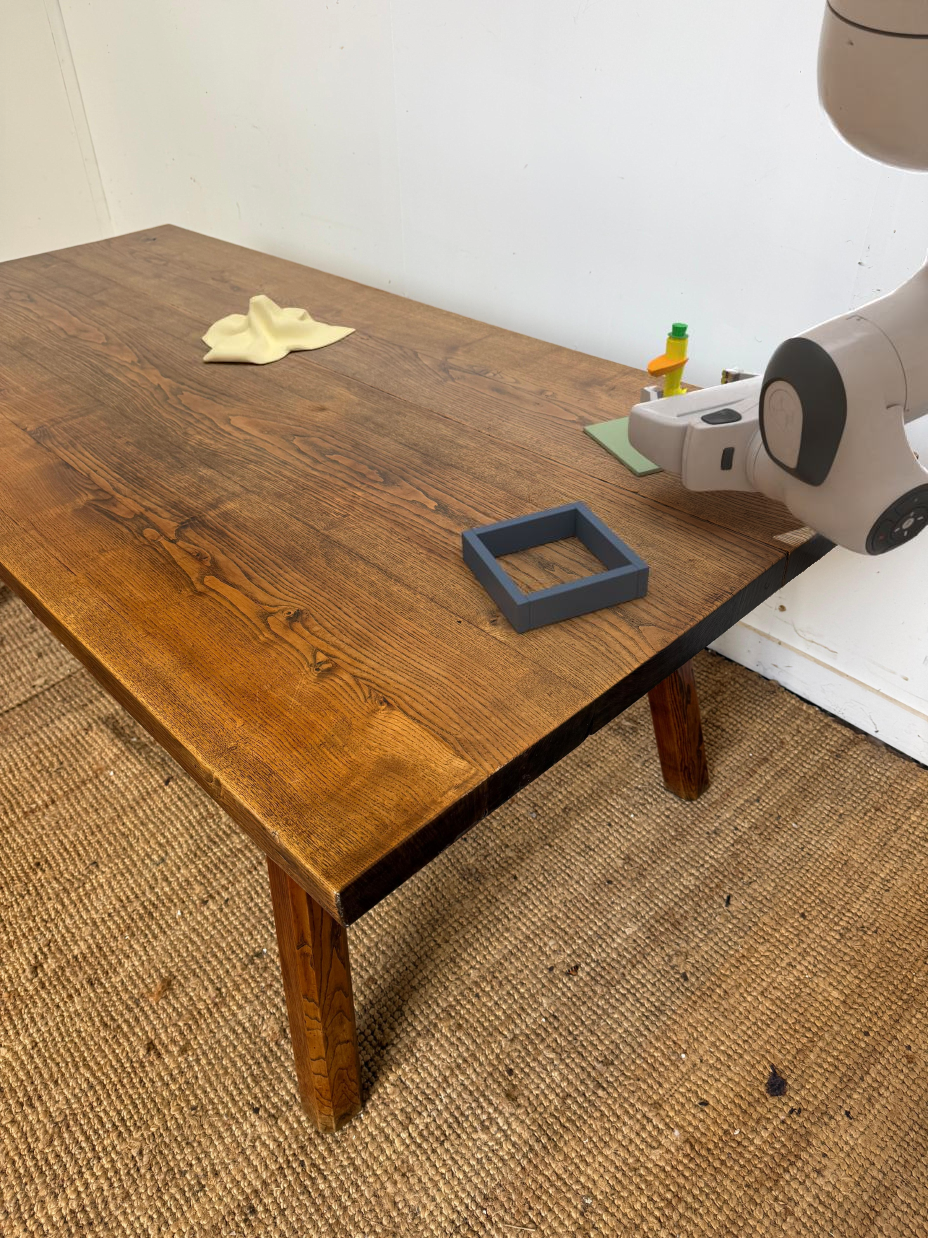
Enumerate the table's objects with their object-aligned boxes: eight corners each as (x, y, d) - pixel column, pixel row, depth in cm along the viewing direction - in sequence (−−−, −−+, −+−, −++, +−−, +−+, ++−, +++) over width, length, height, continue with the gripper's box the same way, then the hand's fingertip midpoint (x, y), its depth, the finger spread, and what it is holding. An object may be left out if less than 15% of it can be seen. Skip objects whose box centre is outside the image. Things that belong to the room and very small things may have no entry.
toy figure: (655, 450, 94) (666, 339, 87) (630, 439, 96) (638, 330, 89) (695, 429, 97) (708, 321, 90) (669, 419, 99) (680, 313, 92)
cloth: (211, 375, 118) (200, 330, 114) (187, 332, 131) (177, 290, 127) (368, 343, 124) (363, 299, 120) (330, 305, 138) (324, 265, 134)
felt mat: (674, 409, 103) (674, 405, 102) (736, 451, 94) (737, 447, 94) (583, 430, 99) (583, 426, 99) (638, 476, 91) (638, 472, 90)
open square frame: (579, 527, 83) (580, 500, 82) (646, 595, 75) (649, 566, 73) (462, 559, 80) (461, 531, 78) (518, 634, 71) (517, 604, 69)
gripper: (876, 382, 79) (778, 334, 90) (681, 430, 74) (600, 373, 84) (860, 446, 83) (768, 393, 93) (674, 496, 78) (598, 433, 88)
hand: (687, 384), depth 89 cm, fingers open, 8 cm apart
